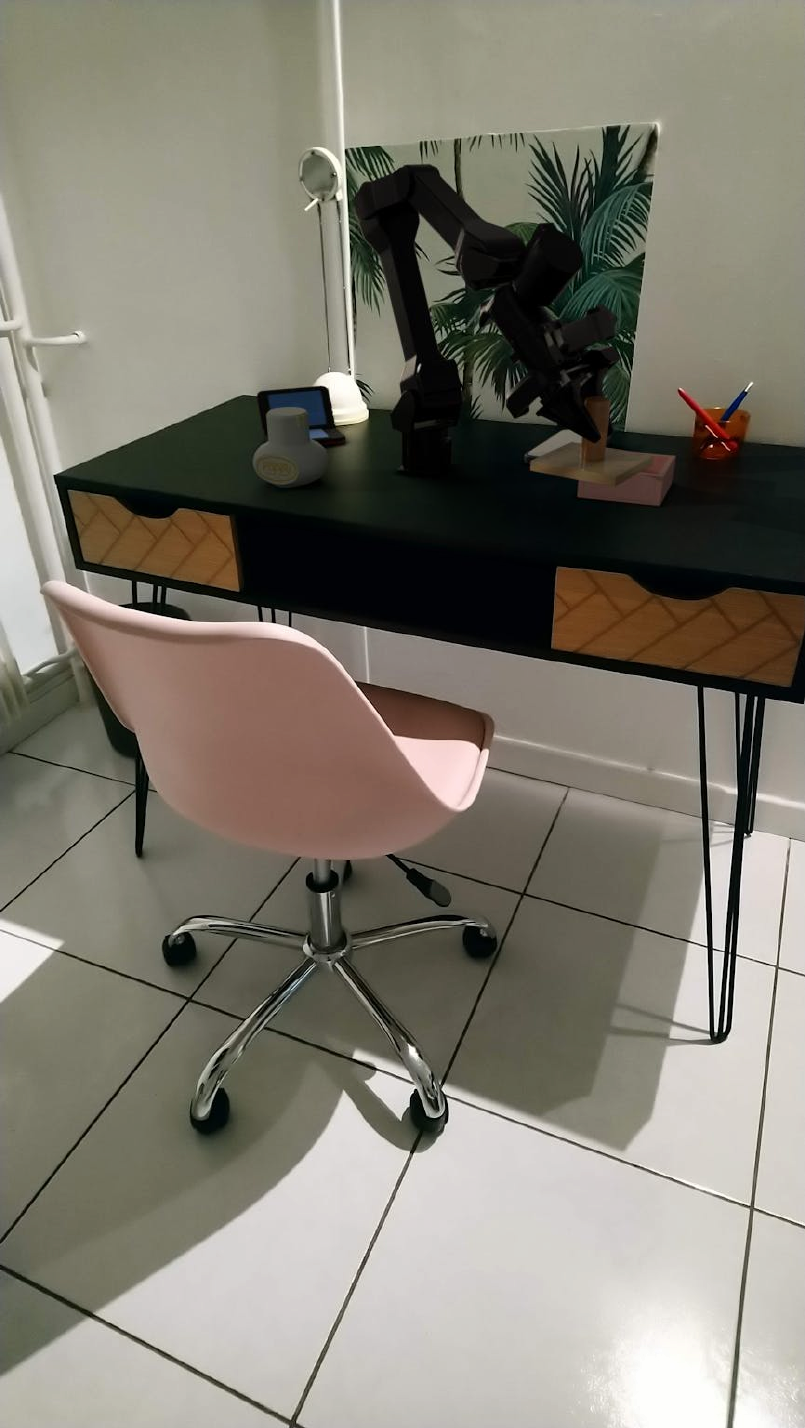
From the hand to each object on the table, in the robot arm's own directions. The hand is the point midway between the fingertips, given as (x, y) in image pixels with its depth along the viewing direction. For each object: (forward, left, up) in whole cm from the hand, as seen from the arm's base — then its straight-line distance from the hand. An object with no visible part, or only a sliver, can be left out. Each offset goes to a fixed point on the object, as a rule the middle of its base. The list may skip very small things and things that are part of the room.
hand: (604, 437), depth 107 cm
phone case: (-11, +29, -11) cm, 33 cm away
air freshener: (-45, +2, -11) cm, 47 cm away
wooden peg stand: (-1, 0, -4) cm, 4 cm away
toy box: (+1, +14, -11) cm, 18 cm away
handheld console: (-55, +23, -11) cm, 61 cm away
